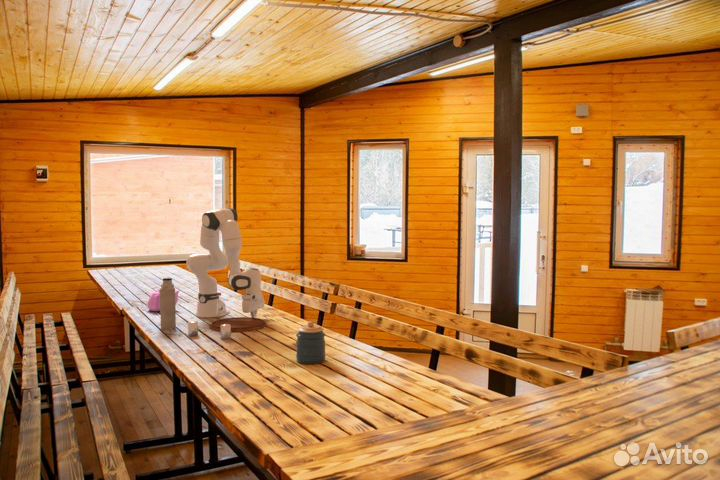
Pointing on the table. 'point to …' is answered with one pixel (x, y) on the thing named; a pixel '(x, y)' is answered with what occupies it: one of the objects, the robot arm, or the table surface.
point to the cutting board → (239, 324)
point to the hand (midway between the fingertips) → (253, 317)
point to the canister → (310, 344)
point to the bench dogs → (194, 330)
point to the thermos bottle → (167, 304)
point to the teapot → (158, 301)
